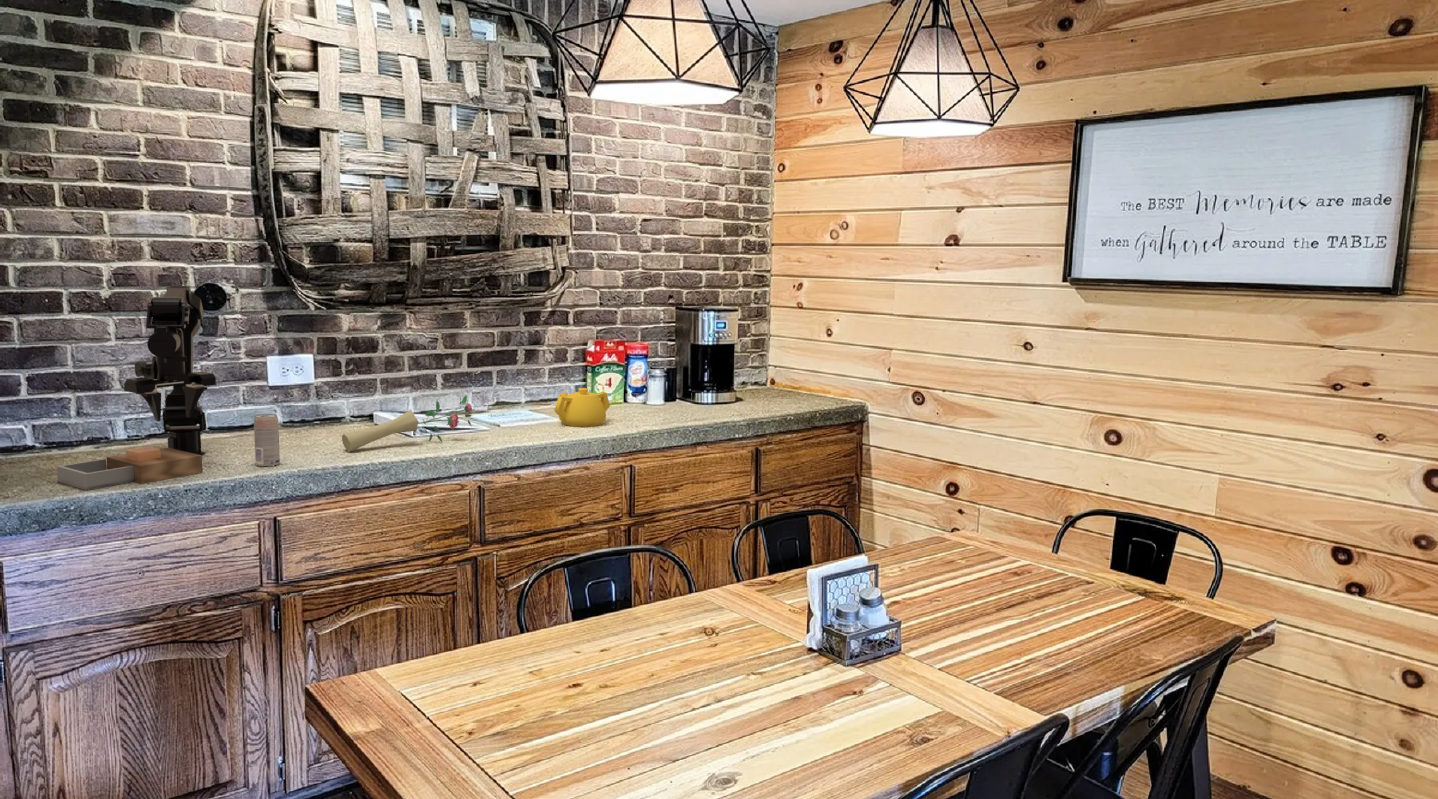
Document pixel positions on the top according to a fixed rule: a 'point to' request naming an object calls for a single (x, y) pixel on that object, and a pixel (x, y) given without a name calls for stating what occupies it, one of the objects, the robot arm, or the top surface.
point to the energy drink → (266, 440)
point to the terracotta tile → (143, 453)
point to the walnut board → (160, 465)
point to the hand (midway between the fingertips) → (173, 419)
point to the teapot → (582, 408)
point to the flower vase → (399, 427)
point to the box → (93, 474)
